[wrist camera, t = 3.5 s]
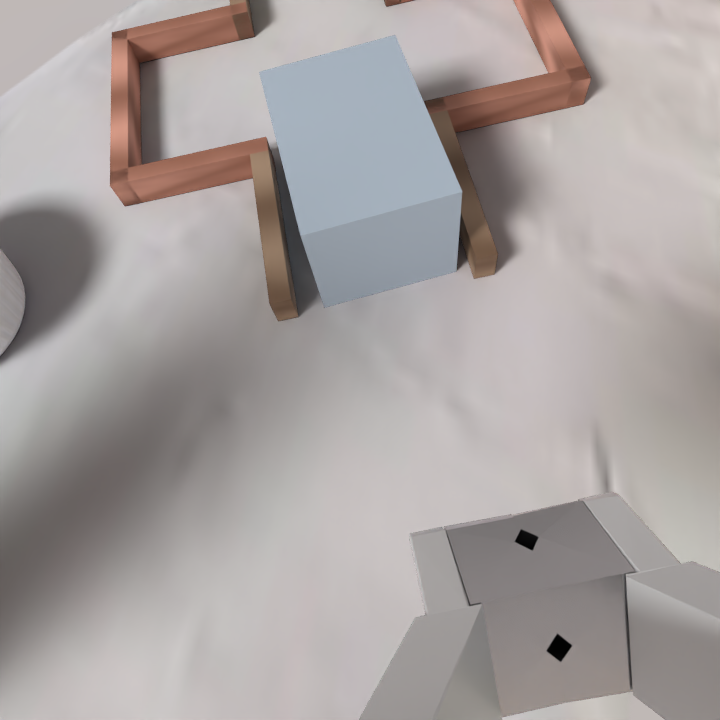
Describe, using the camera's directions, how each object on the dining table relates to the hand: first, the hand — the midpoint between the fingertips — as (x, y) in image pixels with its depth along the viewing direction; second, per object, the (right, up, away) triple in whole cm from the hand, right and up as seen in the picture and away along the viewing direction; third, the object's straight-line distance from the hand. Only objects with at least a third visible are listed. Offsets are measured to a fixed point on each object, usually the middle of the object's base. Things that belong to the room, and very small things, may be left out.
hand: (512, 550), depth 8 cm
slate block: (-2, +12, +28) cm, 30 cm away
